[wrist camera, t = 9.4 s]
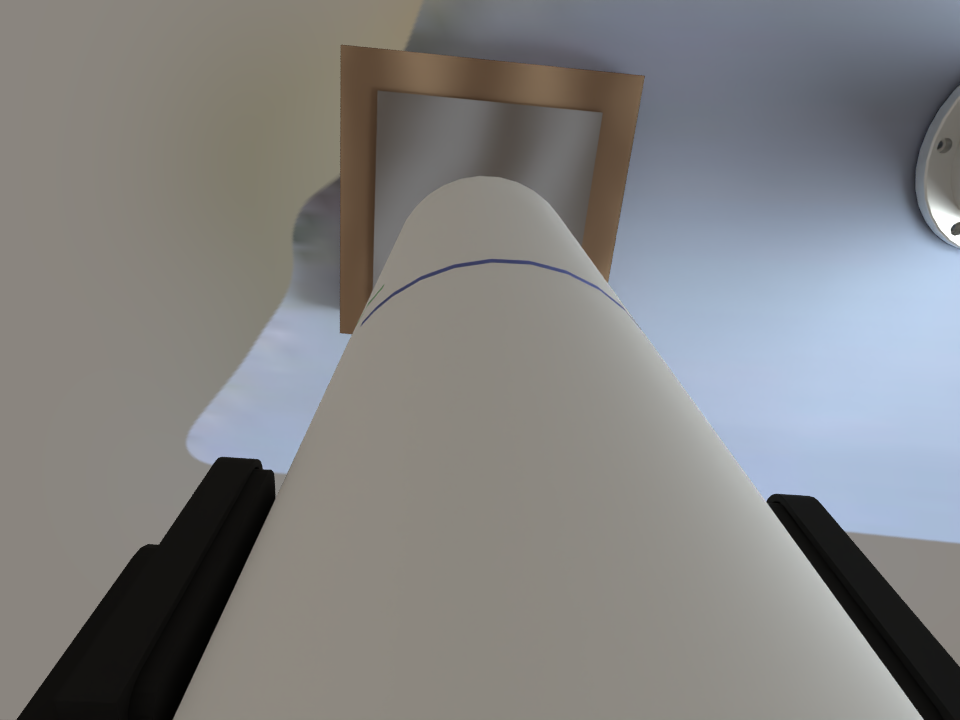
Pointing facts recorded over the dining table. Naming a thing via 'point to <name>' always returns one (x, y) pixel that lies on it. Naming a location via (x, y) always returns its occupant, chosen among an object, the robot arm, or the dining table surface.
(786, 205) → the dining table surface
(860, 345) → the dining table surface
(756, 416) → the dining table surface
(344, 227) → the walnut base
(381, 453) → the cylindrical container
